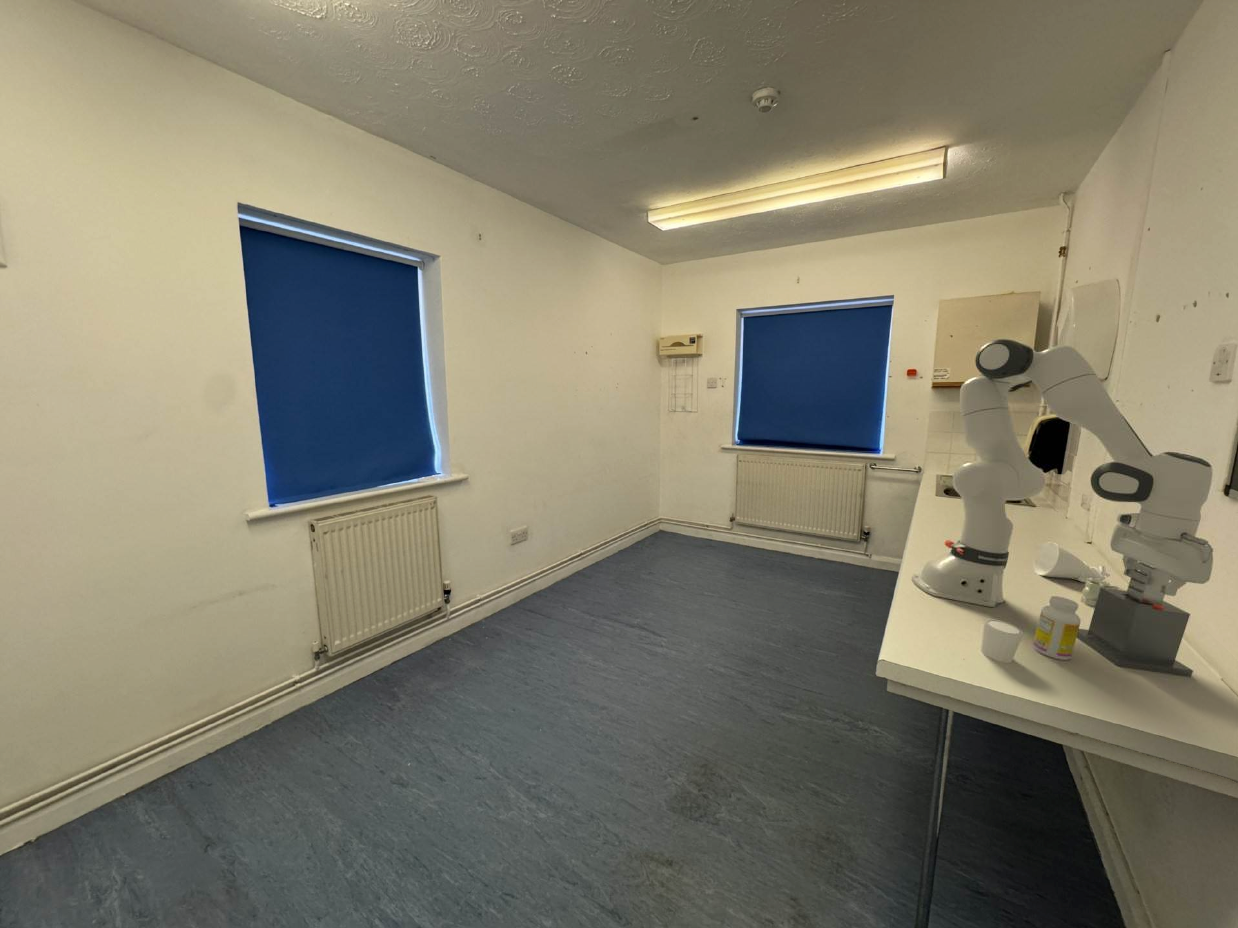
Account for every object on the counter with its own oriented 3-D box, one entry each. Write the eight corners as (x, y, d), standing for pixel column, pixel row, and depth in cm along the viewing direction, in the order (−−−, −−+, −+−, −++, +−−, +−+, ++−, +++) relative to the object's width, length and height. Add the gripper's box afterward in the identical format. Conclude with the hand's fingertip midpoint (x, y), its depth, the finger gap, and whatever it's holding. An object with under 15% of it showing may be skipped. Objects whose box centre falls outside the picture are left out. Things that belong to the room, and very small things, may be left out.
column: (1124, 650, 110) (1149, 568, 106) (1109, 640, 114) (1133, 561, 111) (1147, 653, 110) (1173, 571, 106) (1131, 643, 114) (1155, 563, 110)
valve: (1079, 604, 138) (1139, 621, 130) (1085, 583, 136) (1146, 599, 128) (1079, 598, 142) (1138, 614, 134) (1085, 577, 141) (1145, 592, 133)
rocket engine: (1122, 557, 152) (1057, 535, 156) (1127, 589, 146) (1059, 565, 150) (1093, 572, 161) (1032, 551, 166) (1097, 603, 155) (1034, 580, 159)
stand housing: (1117, 666, 107) (1135, 607, 104) (1070, 633, 120) (1085, 580, 117) (1191, 676, 105) (1211, 617, 102) (1134, 641, 118) (1151, 588, 115)
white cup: (978, 642, 112) (985, 615, 111) (1016, 655, 108) (1023, 626, 107) (976, 655, 107) (983, 626, 106) (1015, 668, 103) (1023, 638, 102)
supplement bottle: (1071, 654, 110) (1086, 602, 108) (1069, 664, 106) (1084, 611, 103) (1033, 641, 115) (1047, 591, 113) (1029, 650, 111) (1043, 599, 108)
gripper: (1232, 544, 96) (1211, 608, 98) (1141, 515, 116) (1125, 569, 118) (1196, 540, 97) (1175, 604, 99) (1111, 512, 117) (1096, 565, 119)
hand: (1147, 585), depth 109 cm, fingers open, 8 cm apart
